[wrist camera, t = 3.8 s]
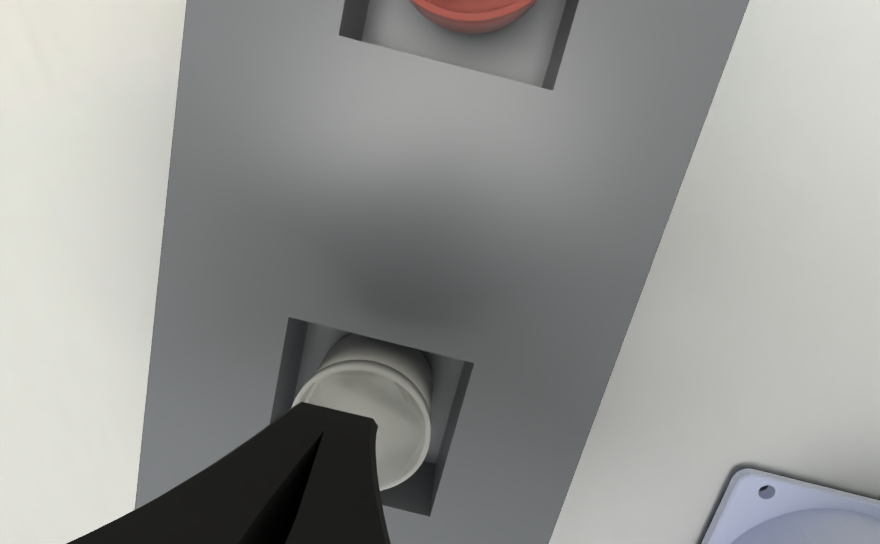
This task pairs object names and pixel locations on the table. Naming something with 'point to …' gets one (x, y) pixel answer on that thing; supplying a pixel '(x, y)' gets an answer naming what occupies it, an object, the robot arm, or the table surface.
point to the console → (421, 229)
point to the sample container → (379, 398)
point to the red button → (472, 13)
